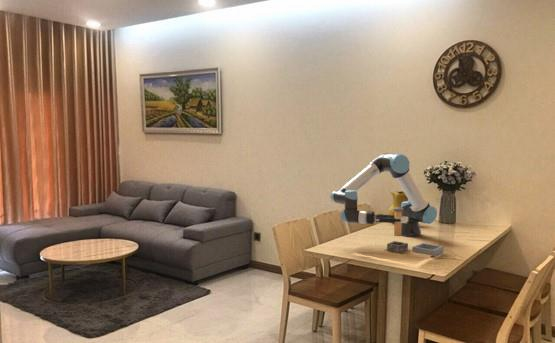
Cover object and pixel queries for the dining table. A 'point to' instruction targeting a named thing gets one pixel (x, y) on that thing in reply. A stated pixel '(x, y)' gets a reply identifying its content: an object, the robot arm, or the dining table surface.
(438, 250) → the tray
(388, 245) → the grey square socket
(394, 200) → the pitcher
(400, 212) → the lock pin
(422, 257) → the dining table surface
